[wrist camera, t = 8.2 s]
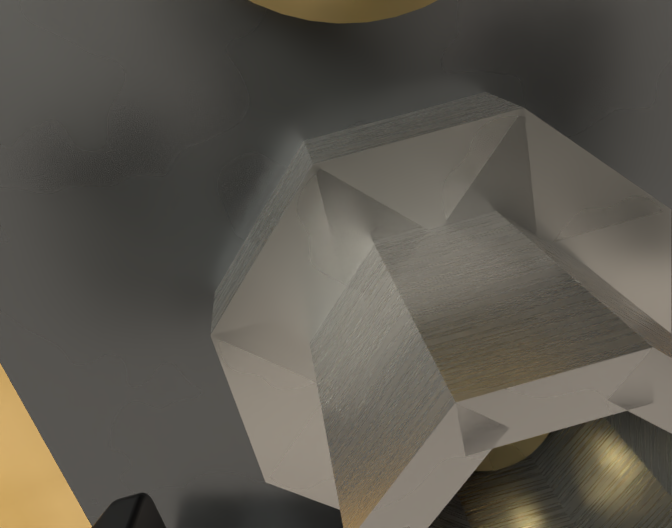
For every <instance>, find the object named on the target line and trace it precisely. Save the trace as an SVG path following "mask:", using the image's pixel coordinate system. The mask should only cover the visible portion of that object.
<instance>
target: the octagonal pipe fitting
mask: <svg viewBox="0 0 672 528" xmlns="http://www.w3.org/2000/svg"><path fill="white" fill-rule="evenodd" d="M210 336H211V338H212V341H213V344H214V346H215V349H216V352H217V354H218V357H219V360H220V362H221V365H222V368H223V370H224V373H225V376H226V378H227V381H228V384H229V386H230V389H231V392H232V394H233V397H234V400H235V402H236V405H237V408H238V410H239V413H240V416H241V418H242V421H243V423H244V426H245V429H246V431H247V434H248V437H249V439H250V442H251V445H252V447H253V450H254V453H255V455H256V458H257V461H258V463H259V466H260V469H261V471H262V474H263V477H264V479H265V482H266V483H269V484H272V485H274V486H277V487H280V488H282V489H285V490H288V491H290V492H293V493H296V494H299V495H301V496H304V497H307V498H309V499H312V500H315V501H317V502H320V503H323V504H326V505H328V506H331V507H334V508H336V509H339V510H340V512H341V518H342V523H343V528H672V334H671V209H670V208H669V207H667V206H666V205H664V204H663V203H661V202H660V201H658V200H657V199H656V198H654V197H653V196H651V195H650V194H648V193H647V192H645V191H644V190H642V189H641V188H640V187H638V186H637V185H635V184H634V183H632V182H631V181H629V180H628V179H627V178H625V177H624V176H622V175H621V174H619V173H618V172H616V171H615V170H614V169H612V168H611V167H609V166H608V165H606V164H605V163H603V162H602V161H600V160H599V159H598V158H596V157H595V156H593V155H592V154H590V153H589V152H587V151H586V150H585V149H583V148H582V147H580V146H579V145H577V144H576V143H574V142H573V141H572V140H570V139H569V138H567V137H566V136H564V135H563V134H561V133H560V132H558V131H557V130H556V129H554V128H553V127H551V126H550V125H548V124H547V123H545V122H544V121H543V120H541V119H540V118H538V117H537V116H535V115H534V114H532V113H531V112H529V111H528V110H527V109H525V108H523V107H521V106H519V105H516V104H514V103H511V102H509V101H506V100H504V99H502V98H499V97H497V96H494V95H492V94H489V93H487V92H484V93H480V94H476V95H473V96H469V97H465V98H461V99H458V100H454V101H450V102H446V103H443V104H439V105H435V106H431V107H428V108H424V109H420V110H416V111H412V112H409V113H405V114H401V115H397V116H394V117H390V118H386V119H382V120H379V121H375V122H371V123H367V124H364V125H360V126H356V127H352V128H349V129H345V130H341V131H337V132H334V133H330V134H326V135H322V136H318V137H315V138H311V139H307V140H304V141H303V142H302V144H301V146H300V148H299V149H298V151H297V153H296V154H295V156H294V158H293V159H292V161H291V163H290V165H289V166H288V168H287V170H286V171H285V173H284V175H283V176H282V178H281V180H280V182H279V183H278V185H277V187H276V188H275V190H274V192H273V193H272V195H271V197H270V199H269V200H268V202H267V204H266V205H265V207H264V209H263V211H262V212H261V214H260V216H259V217H258V219H257V221H256V222H255V224H254V226H253V228H252V229H251V231H250V233H249V234H248V236H247V238H246V239H245V241H244V243H243V245H242V246H241V248H240V250H239V251H238V253H237V255H236V256H235V258H234V260H233V262H232V263H231V265H230V267H229V268H228V270H227V272H226V273H225V275H224V277H223V279H222V280H221V282H220V284H219V285H218V287H217V289H216V290H215V295H214V305H213V314H212V324H211V334H210ZM546 433H548V435H547V437H546V438H545V440H544V441H543V442H542V444H541V445H540V446H539V447H538V448H537V449H536V450H535V451H534V452H532V453H531V454H530V455H529V456H527V457H526V458H524V459H523V460H521V461H519V462H517V463H515V464H513V465H511V466H508V467H505V468H502V469H497V470H491V471H475V469H476V468H477V467H478V466H479V465H480V463H481V462H482V461H483V460H484V458H485V457H486V456H487V455H488V454H489V452H490V451H491V450H492V449H493V448H496V447H500V446H503V445H507V444H510V443H514V442H517V441H521V440H525V439H528V438H532V437H535V436H539V435H542V434H546Z"/></svg>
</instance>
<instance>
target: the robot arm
mask: <svg viewBox="0 0 672 528" xmlns="http://www.w3.org/2000/svg"><path fill="white" fill-rule="evenodd" d="M92 528H166V526H165V524H164V522H163V520H162V518H161V516H160V514H159V512H158V510H157V508H156V506H155V504H154V502H153V500H152V498H151V497H150V496H149V495H148V494H147V493H143V492H142V493H137V494H134V495H130V496H127V497H123V498H119V499H117V500H115V501H113V502H112V503H111V504H110V505H109V506H108V508H107V509H106V510H105V511H104V513H103V514H102V515H101V516H100V518H99V519H98V520H97V521H96V523H95V524H94V525H93V526H92Z"/></svg>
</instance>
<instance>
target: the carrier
mask: <svg viewBox="0 0 672 528" xmlns="http://www.w3.org/2000/svg"><path fill="white" fill-rule="evenodd" d="M484 92H487V93H489V94H492V95H494V96H497V97H499V98H502V99H504V100H506V101H509V102H511V103H514V104H516V105H519V106H521V107H523V108H525V109H527V110H528V111H529V112H531V113H532V114H534V115H535V116H537V117H538V118H540V119H541V120H543V121H544V122H545V123H547V124H548V125H550V126H551V127H553V128H554V129H556V130H557V131H558V132H560V133H561V134H563V135H564V136H566V137H567V138H569V139H570V140H572V141H573V142H574V143H576V144H577V145H579V146H580V147H582V148H583V149H585V150H586V151H587V152H589V153H590V154H592V155H593V156H595V157H596V158H598V159H599V160H600V161H602V162H603V163H605V164H606V165H608V166H609V167H611V168H612V169H614V170H615V171H616V172H618V173H619V174H621V175H622V176H624V177H625V178H627V179H628V180H629V181H631V182H632V183H634V184H635V185H637V186H638V187H640V188H641V189H642V190H644V191H645V192H647V193H648V194H650V195H651V196H653V197H654V198H656V199H657V200H658V201H660V202H661V203H663V204H664V205H666V206H667V207H669V208H670V209H671V334H672V0H0V363H1V365H2V367H3V369H4V370H5V372H6V374H7V376H8V377H9V379H10V381H11V383H12V385H13V386H14V388H15V390H16V392H17V393H18V395H19V397H20V399H21V401H22V402H23V404H24V406H25V408H26V409H27V411H28V413H29V415H30V417H31V418H32V420H33V422H34V424H35V426H36V427H37V429H38V431H39V433H40V434H41V436H42V438H43V440H44V442H45V443H46V445H47V447H48V449H49V450H50V452H51V454H52V456H53V458H54V459H55V461H56V463H57V465H58V466H59V468H60V470H61V472H62V474H63V475H64V477H65V479H66V481H67V483H68V484H69V486H70V488H71V490H72V491H73V493H74V495H75V497H76V499H77V500H78V502H79V504H80V506H81V507H82V509H83V511H84V513H85V515H86V516H87V518H88V520H89V522H90V523H91V525H92V526H93V525H94V524H95V523H96V521H97V520H98V519H99V518H100V516H101V515H102V514H103V513H104V511H105V510H106V509H107V508H108V506H109V505H110V504H111V503H112V502H113V501H115V500H117V499H119V498H123V497H127V496H130V495H134V494H137V493H142V492H143V493H147V494H148V495H149V496H150V497H151V498H152V500H153V502H154V504H155V506H156V508H157V510H158V512H159V514H160V516H161V518H162V520H163V522H164V524H165V526H166V528H343V523H342V518H341V512H340V510H339V509H336V508H334V507H331V506H328V505H326V504H323V503H320V502H317V501H315V500H312V499H309V498H307V497H304V496H301V495H299V494H296V493H293V492H290V491H288V490H285V489H282V488H280V487H277V486H274V485H272V484H269V483H266V482H265V479H264V477H263V474H262V471H261V469H260V466H259V463H258V461H257V458H256V455H255V453H254V450H253V447H252V445H251V442H250V439H249V437H248V434H247V431H246V429H245V426H244V423H243V421H242V418H241V416H240V413H239V410H238V408H237V405H236V402H235V400H234V397H233V394H232V392H231V389H230V386H229V384H228V381H227V378H226V376H225V373H224V370H223V368H222V365H221V362H220V360H219V357H218V354H217V352H216V349H215V346H214V344H213V341H212V338H211V336H210V334H211V324H212V314H213V305H214V295H215V290H216V289H217V287H218V285H219V284H220V282H221V280H222V279H223V277H224V275H225V273H226V272H227V270H228V268H229V267H230V265H231V263H232V262H233V260H234V258H235V256H236V255H237V253H238V251H239V250H240V248H241V246H242V245H243V243H244V241H245V239H246V238H247V236H248V234H249V233H250V231H251V229H252V228H253V226H254V224H255V222H256V221H257V219H258V217H259V216H260V214H261V212H262V211H263V209H264V207H265V205H266V204H267V202H268V200H269V199H270V197H271V195H272V193H273V192H274V190H275V188H276V187H277V185H278V183H279V182H280V180H281V178H282V176H283V175H284V173H285V171H286V170H287V168H288V166H289V165H290V163H291V161H292V159H293V158H294V156H295V154H296V153H297V151H298V149H299V148H300V146H301V144H302V142H303V141H304V140H307V139H311V138H315V137H318V136H322V135H326V134H330V133H334V132H337V131H341V130H345V129H349V128H352V127H356V126H360V125H364V124H367V123H371V122H375V121H379V120H382V119H386V118H390V117H394V116H397V115H401V114H405V113H409V112H412V111H416V110H420V109H424V108H428V107H431V106H435V105H439V104H443V103H446V102H450V101H454V100H458V99H461V98H465V97H469V96H473V95H476V94H480V93H484ZM547 435H548V433H546V434H542V435H539V436H535V437H532V438H528V439H525V440H521V441H517V442H514V443H510V444H507V445H503V446H500V447H496V448H493V449H492V450H491V451H490V452H489V454H488V455H487V456H486V457H485V458H484V460H483V461H482V462H481V463H480V465H479V466H478V467H477V468H476V469H475V471H491V470H497V469H502V468H505V467H508V466H511V465H513V464H515V463H517V462H519V461H521V460H523V459H524V458H526V457H527V456H529V455H530V454H531V453H532V452H534V451H535V450H536V449H537V448H538V447H539V446H540V445H541V444H542V442H543V441H544V440H545V438H546V437H547Z"/></svg>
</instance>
